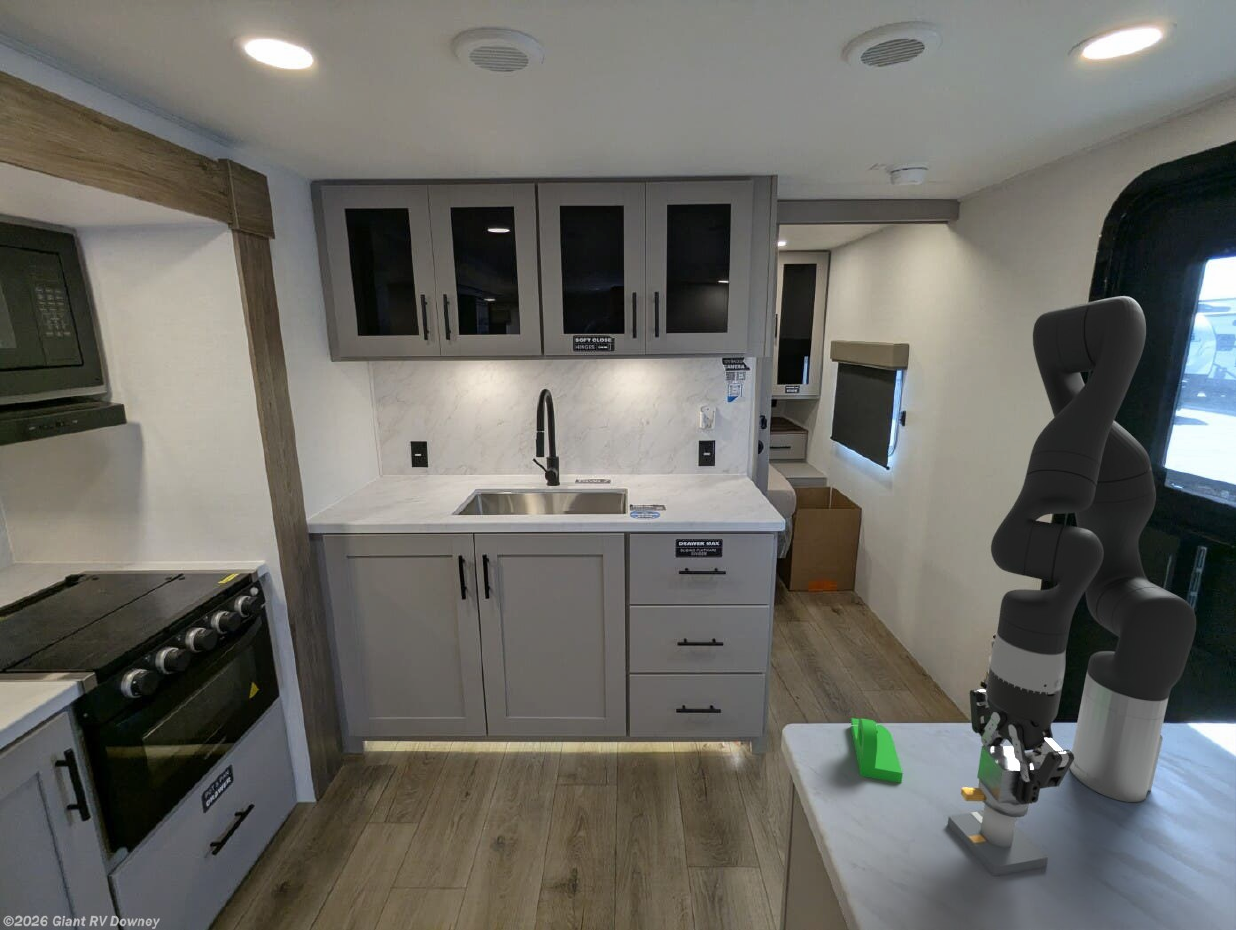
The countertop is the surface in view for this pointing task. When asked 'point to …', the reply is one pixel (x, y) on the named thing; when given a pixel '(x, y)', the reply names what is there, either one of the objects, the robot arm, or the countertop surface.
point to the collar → (998, 781)
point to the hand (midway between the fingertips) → (1007, 784)
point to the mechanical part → (875, 751)
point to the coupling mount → (997, 841)
